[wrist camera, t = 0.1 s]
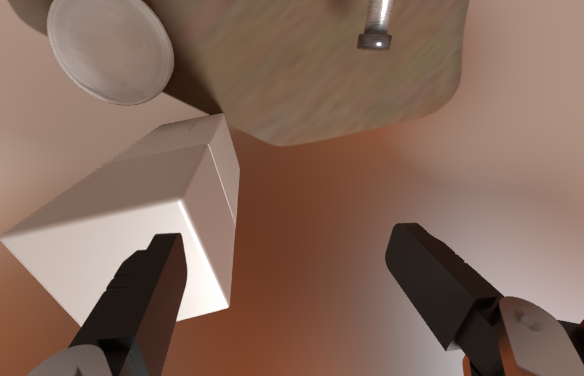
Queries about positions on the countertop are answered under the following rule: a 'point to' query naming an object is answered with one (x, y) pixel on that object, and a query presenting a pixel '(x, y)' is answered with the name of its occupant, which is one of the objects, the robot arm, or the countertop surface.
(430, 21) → the countertop surface
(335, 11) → the countertop surface
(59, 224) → the tall white carton
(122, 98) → the ramekin
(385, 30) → the shaft
